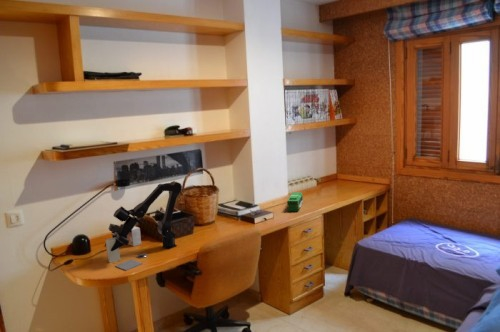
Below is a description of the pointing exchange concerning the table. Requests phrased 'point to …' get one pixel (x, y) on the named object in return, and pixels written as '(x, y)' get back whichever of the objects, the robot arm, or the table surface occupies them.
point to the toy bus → (295, 201)
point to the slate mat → (128, 265)
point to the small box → (134, 237)
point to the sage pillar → (112, 255)
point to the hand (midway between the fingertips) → (110, 249)
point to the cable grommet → (142, 255)
